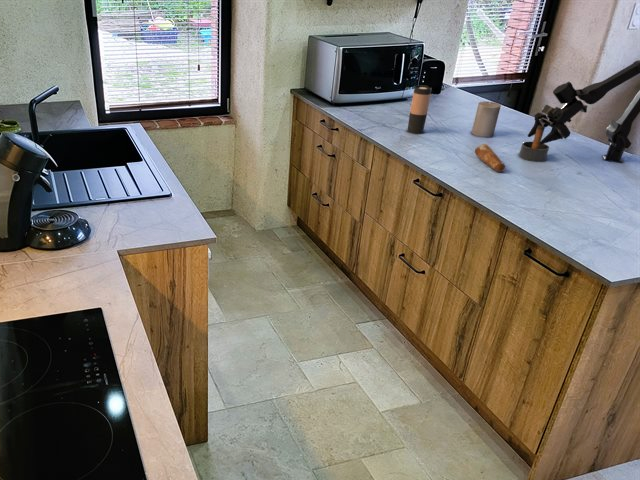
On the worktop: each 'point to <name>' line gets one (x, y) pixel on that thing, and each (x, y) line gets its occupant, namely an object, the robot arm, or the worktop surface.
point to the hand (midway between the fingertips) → (534, 139)
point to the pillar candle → (486, 119)
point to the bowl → (533, 152)
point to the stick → (538, 137)
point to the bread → (489, 157)
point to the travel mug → (419, 109)
